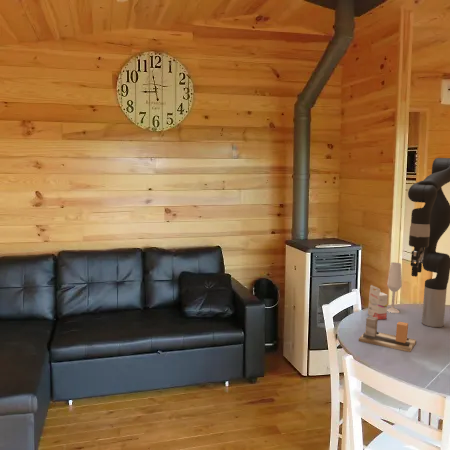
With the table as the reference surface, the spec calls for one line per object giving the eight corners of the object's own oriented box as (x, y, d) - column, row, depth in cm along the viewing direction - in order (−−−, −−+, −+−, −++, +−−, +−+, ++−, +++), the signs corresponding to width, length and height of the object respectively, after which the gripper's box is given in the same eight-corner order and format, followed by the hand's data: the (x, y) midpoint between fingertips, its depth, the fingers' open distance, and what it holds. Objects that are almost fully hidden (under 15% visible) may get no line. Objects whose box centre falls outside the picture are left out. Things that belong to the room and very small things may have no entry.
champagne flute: (385, 312, 238) (388, 264, 235) (385, 308, 245) (388, 261, 241) (399, 313, 236) (403, 265, 233) (399, 309, 243) (402, 262, 240)
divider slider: (400, 336, 200) (401, 317, 198) (409, 338, 198) (411, 319, 197) (395, 343, 192) (396, 324, 191) (404, 345, 190) (406, 325, 189)
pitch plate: (366, 332, 208) (368, 310, 207) (415, 342, 198) (417, 319, 197) (358, 341, 198) (360, 318, 197) (410, 351, 188) (411, 327, 187)
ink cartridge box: (387, 319, 227) (389, 288, 225) (377, 320, 226) (380, 289, 224) (376, 313, 235) (378, 284, 234) (367, 314, 234) (369, 284, 232)
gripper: (413, 231, 202) (410, 269, 204) (405, 235, 190) (403, 276, 192) (432, 233, 198) (429, 272, 200) (426, 237, 186) (423, 279, 188)
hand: (416, 274), depth 196 cm, fingers open, 8 cm apart
